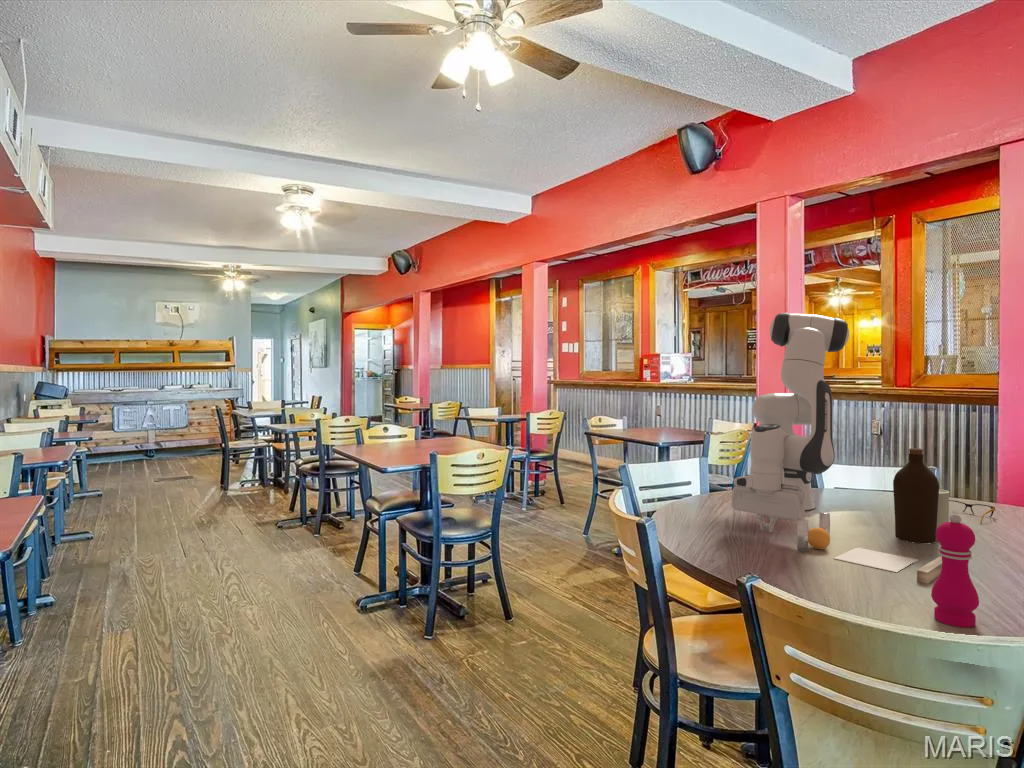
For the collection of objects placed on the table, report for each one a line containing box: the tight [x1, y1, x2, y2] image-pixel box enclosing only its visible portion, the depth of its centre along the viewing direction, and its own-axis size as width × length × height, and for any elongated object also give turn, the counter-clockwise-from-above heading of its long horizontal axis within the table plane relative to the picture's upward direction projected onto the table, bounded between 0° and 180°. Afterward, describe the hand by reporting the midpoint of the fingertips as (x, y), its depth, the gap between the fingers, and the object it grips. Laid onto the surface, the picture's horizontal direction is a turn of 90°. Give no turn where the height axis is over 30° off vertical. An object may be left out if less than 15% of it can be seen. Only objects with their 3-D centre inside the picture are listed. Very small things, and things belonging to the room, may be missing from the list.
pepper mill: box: [930, 513, 980, 628], centre depth 114 cm, size 7×7×20 cm
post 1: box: [796, 518, 809, 553], centre depth 159 cm, size 3×3×8 cm
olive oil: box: [892, 447, 940, 544], centre depth 169 cm, size 11×11×25 cm
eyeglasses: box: [949, 499, 996, 525], centre depth 195 cm, size 14×14×4 cm
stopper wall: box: [916, 555, 942, 584], centre depth 141 cm, size 2×20×2 cm, turn 129°
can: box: [937, 488, 950, 528], centre depth 179 cm, size 9×9×12 cm
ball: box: [808, 526, 831, 550], centre depth 161 cm, size 6×6×6 cm
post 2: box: [818, 511, 831, 537], centre depth 167 cm, size 3×3×8 cm
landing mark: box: [833, 547, 918, 574], centre depth 151 cm, size 14×14×1 cm
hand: (766, 530), depth 173 cm, fingers closed
